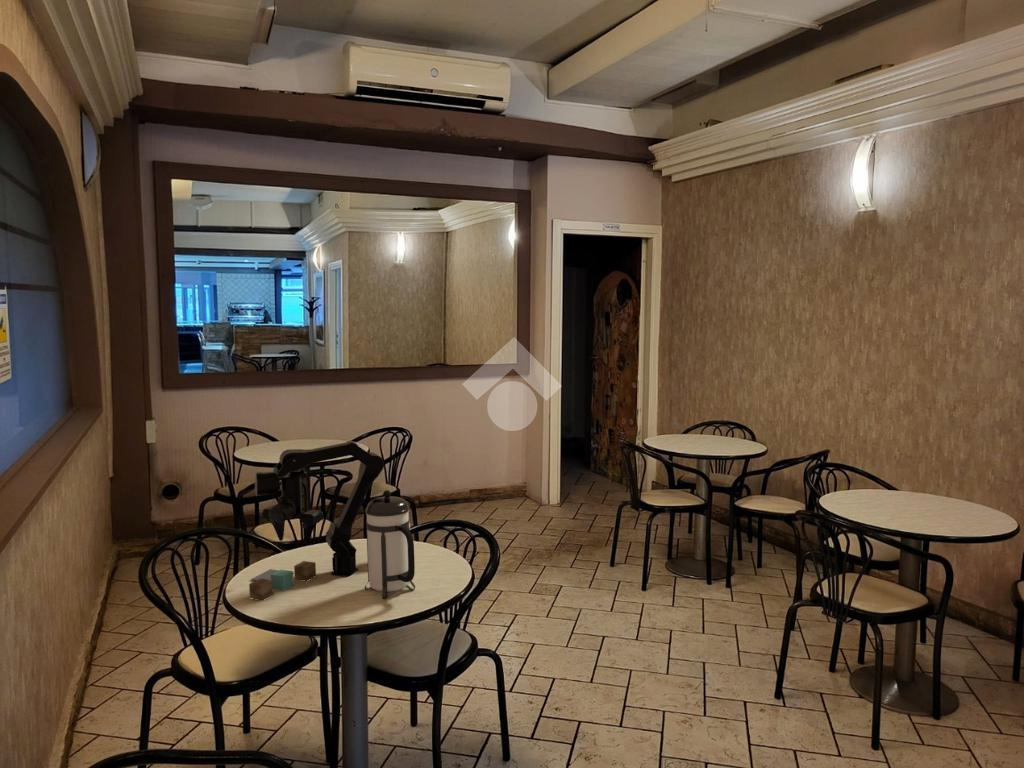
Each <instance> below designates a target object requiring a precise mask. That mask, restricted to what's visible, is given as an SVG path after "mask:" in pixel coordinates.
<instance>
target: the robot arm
mask: <svg viewBox="0 0 1024 768" xmlns="http://www.w3.org/2000/svg"><path fill="white" fill-rule="evenodd" d="M349 456H352V457H353V458H355V459H356V460H357V461H359V463H360V464H359V468H358V474H357V475H358V477H357V480H356V482H355V484H354V487H353V489H352V490H351V493H350V494H349V495H350V496H349V497H348V498H347V501H346V504H345V506H344V508H343V510H342V512H341V514H340V517H339V518H338V520H337V521H336V522H335V523H334V522H330V523H329V527H328V530H327V531H326V532H325V535H326V537H325V541H326V543H327V545H328V546H329V548H330V549H331V550H332V551H333V553H332V558H331V561H332V563H331V565H332V571H331V572H330V575H334V576H341V577H350V576H352V575H353V574H355V573H356V572H358V571H359V570H360V568H359V567H357V560H356V559H357V558H356V554H357V553H356V552H357V549H356V547H355V546H354V545H353V544H352V542H351V537H352V528H353V525H354V522H355V520H356V518H357V515H358V514H359V511H360V509H361V507H362V505H363V502H364V500H365V498H366V495H367V493H368V491H369V489H370V486H371V484H372V483H374V482H375V480H376V479H378V477H379V475H380V474H381V472H383V469H384V467H385V462H384V459H383V458H382V457H381V456H380V455H378V454H377V453H375V452H372V451H371V452H370V451H369V452H368V451H366V450H365V449H363V448H362V447H360V446H359V445H358V444H357V443H356V442H354V441H352V440H348V441H345V442H341V443H337V444H332V445H326V446H321V447H316V448H312V449H302V448H297V449H296V448H295V449H294V448H293V449H291V448H290V449H289V448H288V449H286V450H283V451H282V453H281V454H280V455H279V461H278V463H277V464H276V465H275V466H274V468H273V470H272V471H265V472H263V471H262V472H261V471H260V472H256V473H255V477H254V478H255V482H254V492H255V496H256V497H258V496H269V495H277V493H278V492H279V491H280V490H281V495H280V496H279V497H278V502H277V504H274V505H270V506H268V507H266V508H264V509H262V511H261V519H264V520H265V521H266V522H268V523H269V524H271V525H272V526H273V529H274V531H275V533H276V535H277V537H278V540H279V541H280V542H281V541H283V539H284V535H285V522H286V521H287V519H291V518H293V519H300V522H301V523H300V526H301V528H302V529H303V533H302V534H303V535H302V536H303V544H304V545H307V544H308V543H309V541H310V538H311V536H312V533H313V531H314V530H315V527H316V525H317V524H319V523H320V522H321V521H323V520H324V513H323V511H322V510H318V509H310V510H307V511H305V510H306V507H305V506H303V502H302V501H303V498H305V493H304V492H303V493H302V478H305V477H309V475H308V473H307V472H306V471H304V469H305V468H306V467H308V466H310V465H312V464H314V463H315V464H316V463H320V462H324V461H329V460H330V461H331V460H334V459H338V458H343V457H349ZM303 468H304V469H303ZM280 481H281V482H280ZM303 511H305V512H303Z"/></svg>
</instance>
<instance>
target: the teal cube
mask: <svg viewBox="0 0 1024 768" xmlns="http://www.w3.org/2000/svg"><path fill="white" fill-rule="evenodd" d="M277 570H278V571H277V572H275V573H273V574H271V580H272V582H273V590H274V589H275V590H276V591H282V590H283V591H284V592H285V591H286V590H287V589H290V588H292V587H293V586H294V574H293V572H294V571H293V570H288V569H287V570H286V569H277ZM289 587H290V588H289ZM283 591H282V592H283Z"/></svg>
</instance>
